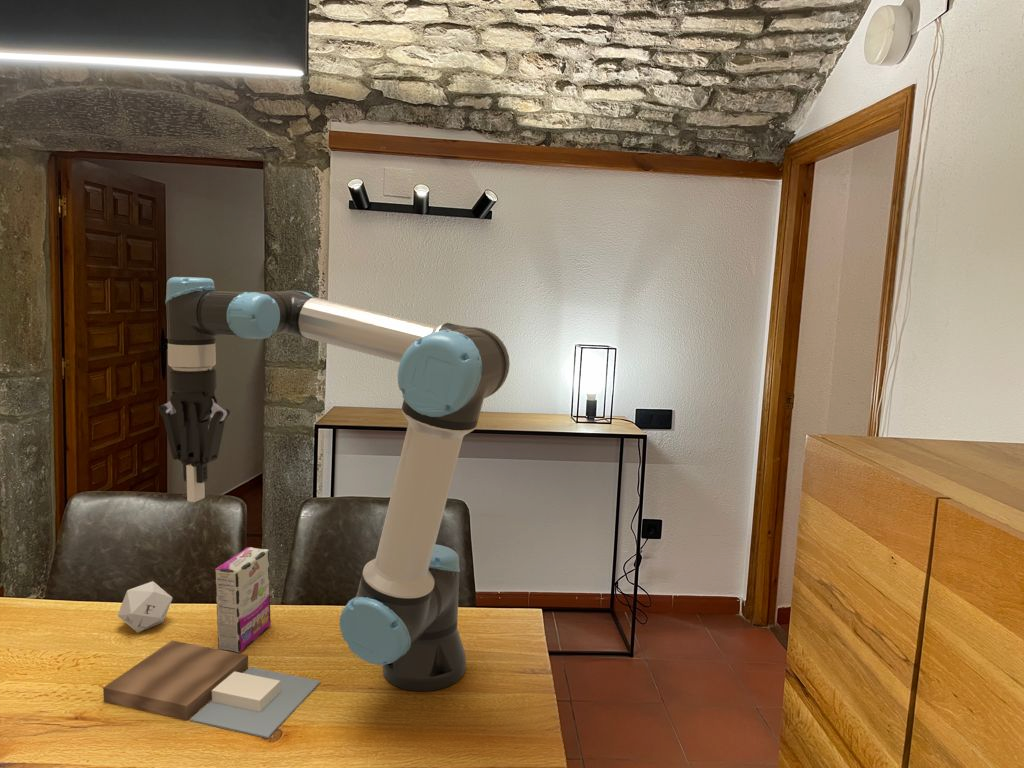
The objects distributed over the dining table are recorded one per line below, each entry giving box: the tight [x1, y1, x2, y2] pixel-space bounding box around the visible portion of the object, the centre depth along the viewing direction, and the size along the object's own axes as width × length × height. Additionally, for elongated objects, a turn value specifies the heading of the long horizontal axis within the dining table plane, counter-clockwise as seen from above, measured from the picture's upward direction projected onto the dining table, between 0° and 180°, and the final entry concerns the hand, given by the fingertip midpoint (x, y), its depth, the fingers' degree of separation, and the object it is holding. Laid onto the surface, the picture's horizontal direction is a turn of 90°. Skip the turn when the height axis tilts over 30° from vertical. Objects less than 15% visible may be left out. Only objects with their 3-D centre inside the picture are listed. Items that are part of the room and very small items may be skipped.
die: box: [117, 580, 173, 634], centre depth 142 cm, size 8×9×10 cm
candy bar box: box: [214, 546, 272, 654], centre depth 138 cm, size 11×5×16 cm, turn 168°
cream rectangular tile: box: [211, 671, 281, 712], centre depth 120 cm, size 9×6×2 cm, turn 76°
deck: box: [102, 640, 249, 721], centre depth 123 cm, size 16×16×2 cm
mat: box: [189, 666, 321, 739], centre depth 119 cm, size 14×16×1 cm
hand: (196, 499), depth 126 cm, fingers closed
